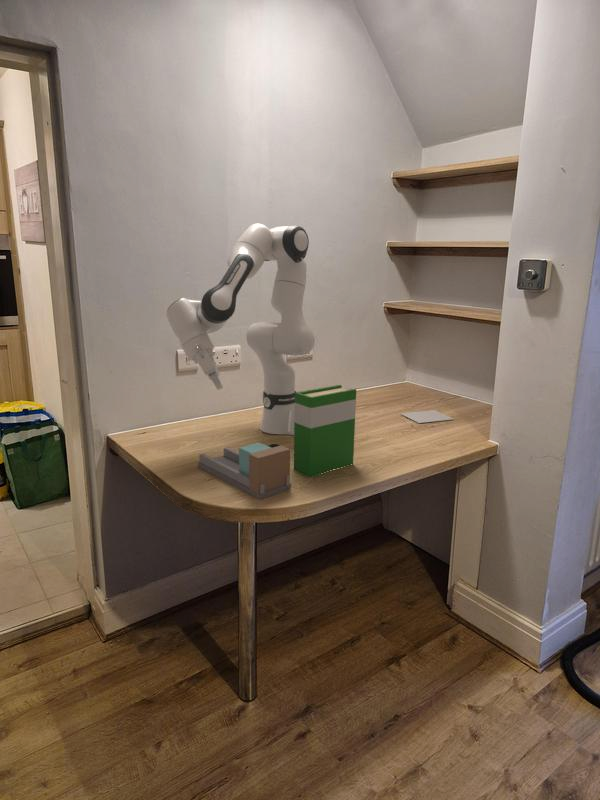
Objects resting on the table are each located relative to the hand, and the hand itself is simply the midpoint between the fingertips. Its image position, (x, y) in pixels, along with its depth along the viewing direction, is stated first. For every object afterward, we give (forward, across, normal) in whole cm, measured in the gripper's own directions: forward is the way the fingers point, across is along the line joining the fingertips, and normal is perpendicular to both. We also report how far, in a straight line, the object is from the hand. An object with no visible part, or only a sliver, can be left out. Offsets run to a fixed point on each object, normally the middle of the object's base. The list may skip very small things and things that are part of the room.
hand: (220, 388), depth 176 cm
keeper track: (+27, -9, +6) cm, 29 cm away
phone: (+25, +10, -3) cm, 27 cm away
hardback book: (+36, -2, -16) cm, 40 cm away
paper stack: (+45, +43, -63) cm, 89 cm away
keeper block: (+28, -15, +3) cm, 32 cm away
